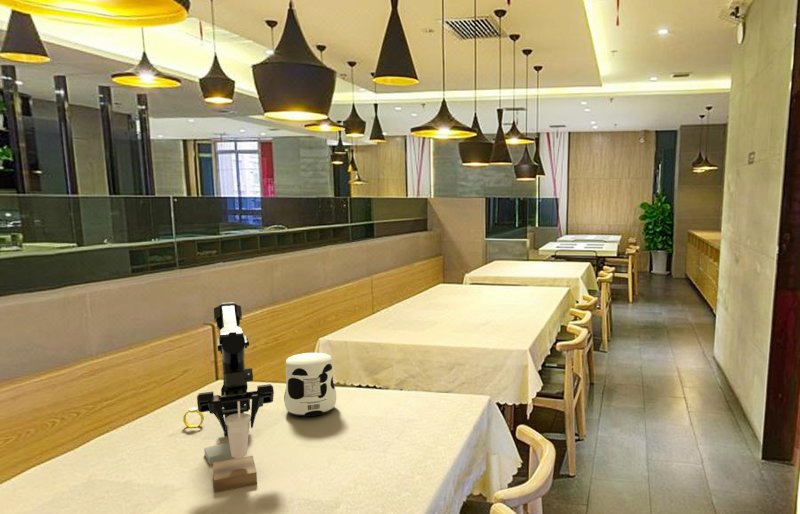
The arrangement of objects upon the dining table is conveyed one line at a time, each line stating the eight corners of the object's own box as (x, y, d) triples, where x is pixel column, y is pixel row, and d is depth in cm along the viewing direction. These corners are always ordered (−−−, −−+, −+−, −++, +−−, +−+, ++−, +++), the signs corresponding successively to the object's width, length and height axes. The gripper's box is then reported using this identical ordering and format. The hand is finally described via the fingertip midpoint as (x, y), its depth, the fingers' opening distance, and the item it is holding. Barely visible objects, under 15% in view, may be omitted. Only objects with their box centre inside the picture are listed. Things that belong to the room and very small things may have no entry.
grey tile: (204, 454, 153) (204, 447, 152) (230, 448, 156) (229, 441, 156) (209, 464, 147) (209, 457, 146) (236, 458, 150) (235, 451, 150)
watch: (204, 425, 175) (204, 407, 174) (201, 429, 172) (201, 410, 171) (185, 424, 175) (185, 406, 174) (182, 428, 172) (182, 410, 171)
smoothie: (236, 462, 134) (234, 407, 133) (220, 455, 138) (218, 401, 136) (257, 453, 139) (255, 399, 138) (241, 447, 143) (240, 394, 142)
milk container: (311, 398, 196) (308, 349, 195) (347, 407, 186) (345, 355, 184) (273, 414, 182) (271, 361, 181) (311, 424, 172) (308, 368, 170)
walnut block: (213, 473, 141) (212, 462, 141) (253, 466, 145) (252, 455, 144) (214, 492, 132) (213, 480, 132) (257, 483, 135) (256, 472, 135)
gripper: (195, 362, 137) (196, 421, 127) (271, 354, 143) (278, 409, 133) (197, 383, 145) (199, 440, 136) (269, 374, 151) (275, 428, 142)
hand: (238, 429), depth 136 cm, fingers closed on smoothie, 6 cm apart
